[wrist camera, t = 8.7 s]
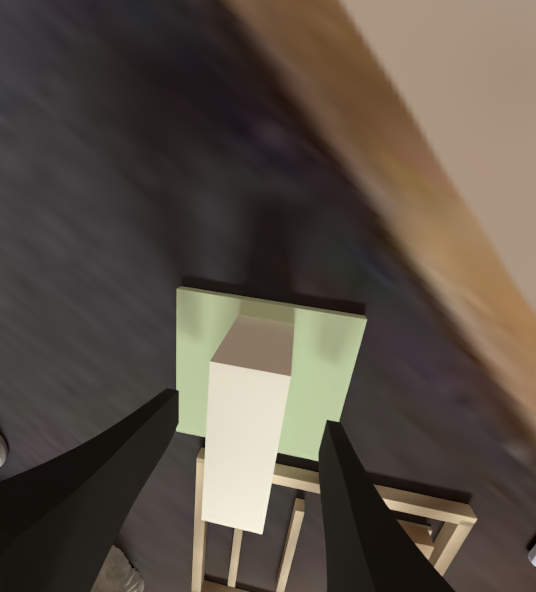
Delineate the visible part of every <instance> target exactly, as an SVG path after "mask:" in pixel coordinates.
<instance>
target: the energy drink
mask: <svg viewBox="0 0 536 592" xmlns="http://www.w3.org/2000/svg"><path fill="white" fill-rule="evenodd" d="M7 453H8V449H7V445H6V443H5V441H4V439H3V438H2V436H1V435H0V467H1V466H2V465H3V464H4V462H5V460H6V456H7Z"/></svg>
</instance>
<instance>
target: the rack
mask: <svg viewBox="0 0 536 592" xmlns="http://www.w3.org/2000/svg"><path fill="white" fill-rule="evenodd" d="M204 460H205V448H202V447H201V450H200V452H199V454H198V457H197V470H196V495H195V520H194V545H193V570H192V592H248V591H245V590H241V589H237V588H233V587H235V583H236V577H237V571H238V564H239V557H240V550H241V543H242V535H243V530H242V529H238V528H235V530H234V539H233V547H232V555H231V563H230V571H229V579H228V586H225V585H221V584H218V583H214V582H210V581H206V580H204V570H205V555H206V540H207V525H208V521H204V520H201V516H202V497H203V479H204ZM272 483H274V484H279V485H283V486H288V487H292V488H297V489H301V490H306V491H310V492H315V493H319V494H320V485H319V472H314V471H310V470H305V469H300V468H296V467H291V466H286V465H282V464H277V463H275V467H274V473H273V478H272ZM374 486H375V488H376V489H377V491H378V492H379V494H380V496H381V497H382V499H383V500H384V502H385V503H386V505H387V506H388V508H389V509H392V510H396V511H401V512H405V513H410V514H414V515H419V516H423V517H428V518H433V519H437V520H442V521H445V523H444V525H443V527H442V528H441V530H440V532H439V534H438V536H437V537H436V539H435V541H434V543H433V544H434V549H433V551H432V553H431V556H430V558H429V560H428V561H429V562H430V563H431V564H432V565H433V567H434V568H435V569H436V570H437V571H438V572H439V574H440V575H441V576H443V574H444V573H445V571H446V569H447V568H448V566H449V564H450V563H451V561H452V559H453V558H454V556H455V555H456V553H457V551H458V550H459V548H460V546H461V545H462V543H463V541H464V540H465V538H466V537H467V535H468V533H469V532H470V530H471V528H472V527H473V525H474V523H475V522H476V520H477V518H476V516H475V514H474V512H473V511H472V509H471V507H470V505H469V504H464V503H459V502H455V501H450V500H445V499H440V498H436V497H431V496H426V495H422V494H417V493H412V492H408V491H403V490H398V489H394V488H389V487H384V486H380V485H375V484H374ZM303 516H304V500H303V499H298V498H296V500H295V504H294V508H293V513H292V517H291V521H290V525H289V530H288V534H287V538H286V542H285V547H284V551H283V555H282V559H281V564H280V568H279V572H278V577H277V581H276V587H275V592H284V589H285V586H286V582H287V578H288V574H289V570H290V566H291V562H292V558H293V555H294V551H295V547H296V543H297V539H298V535H299V531H300V527H301V524H302V520H303ZM229 586H231V587H229Z"/></svg>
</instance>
